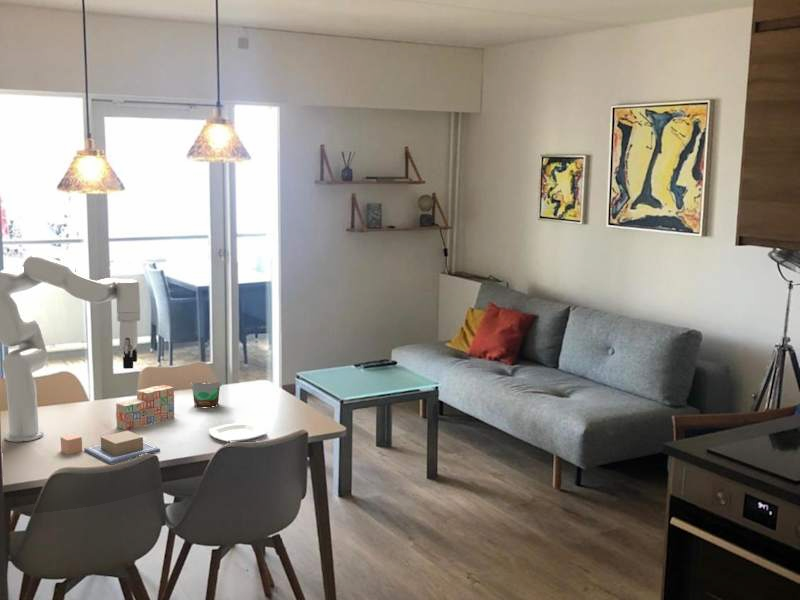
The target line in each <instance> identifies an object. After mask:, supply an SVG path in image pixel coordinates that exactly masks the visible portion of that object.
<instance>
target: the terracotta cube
mask: <svg viewBox="0 0 800 600" xmlns="http://www.w3.org/2000/svg"><path fill="white" fill-rule="evenodd" d="M60 451H61V452H62V451H63V452H62V453H64V452H65V453H64V454H66V453H67V454H66V455H72V454H77V453H79V452H83V438H82V436H81V435H78V434H76V433H72V434H68V435H65V436H64V435H63V436H61V437H60Z"/></svg>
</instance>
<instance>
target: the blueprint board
mask: <svg viewBox="0 0 800 600" xmlns="http://www.w3.org/2000/svg"><path fill="white" fill-rule="evenodd" d="M83 451H84V452H85V453H88V454H90V455H92V456H94V458H98V459H100V460H102V461H104V462H105V463H107V464H109V465H113V464H116V463H122V462H125V461H127V460H128V459H129V460H131V459H130V458H133V459H135V458H134V457H136V456H139V455H141V454H145V453H152V454H156V453H159V452H160V451H161V448H160V447H157V446H155V445H153V444H150V443H149V442H146V441H144V437H143V436H142V435H139V434H137V433H135V432H133V431H131V430H124V431H120V432H116V433H112V434H108V435H103V436H100V444H95V445H93V446H92V445H91V446H87V447H84V450H83ZM155 452H156V453H155ZM136 458H137V457H136Z"/></svg>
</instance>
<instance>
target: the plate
mask: <svg viewBox="0 0 800 600" xmlns="http://www.w3.org/2000/svg"><path fill="white" fill-rule="evenodd" d="M208 433H209V435H210V436H211V437H212V438H214V439H216V440H218V441H219V440H220V441H223V442H225V441H226V443H228V442H230V441H241V442H246V440H247V441H250V440H255V439H258V438H260V437H262V436H265V435H267V434H268V432H267V431H266V429H265V428H264V427H263V426H260V425H259V424H256V423H251V422H236V423H226V424H223V425H222V424H221V425H218V426H215V427H211V428H208Z"/></svg>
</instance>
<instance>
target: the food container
mask: <svg viewBox="0 0 800 600" xmlns="http://www.w3.org/2000/svg"><path fill="white" fill-rule="evenodd" d="M221 386H222V381H221V380H219V381H216V382H208V381H203V382H198V383H196V382H193V381H191V382H190V386H189V387H190V388H191V389H192V396H193V403H194V407H196V406H197V407H196V408H198V407H212V406H215V407H217V406H218V405H219V399H220V388H221ZM217 404H218V405H217ZM216 405H217V406H216ZM212 408H213V407H212Z"/></svg>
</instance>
